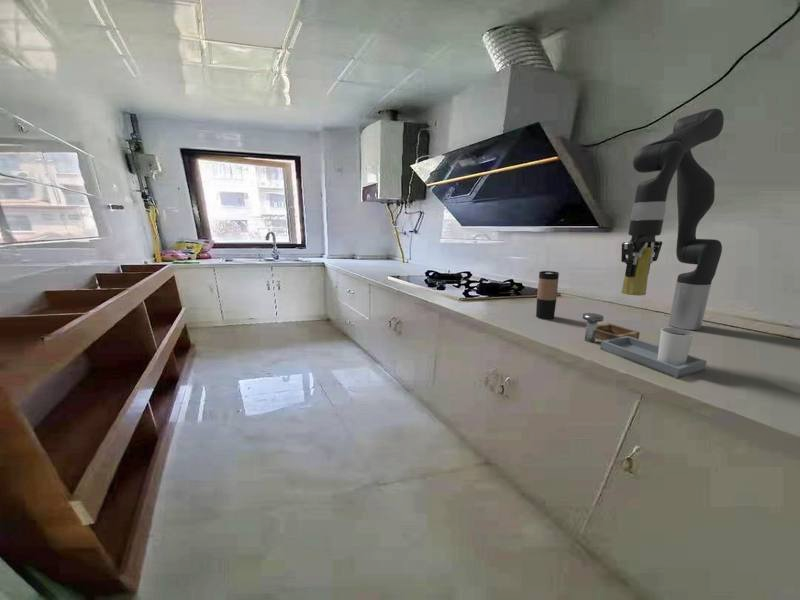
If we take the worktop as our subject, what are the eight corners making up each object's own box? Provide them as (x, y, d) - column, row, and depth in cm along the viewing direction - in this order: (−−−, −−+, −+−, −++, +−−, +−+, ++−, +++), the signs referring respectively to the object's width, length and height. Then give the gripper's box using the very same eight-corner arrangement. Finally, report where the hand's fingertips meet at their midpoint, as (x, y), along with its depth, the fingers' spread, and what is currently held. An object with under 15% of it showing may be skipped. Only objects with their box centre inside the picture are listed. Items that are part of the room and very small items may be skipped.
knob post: (588, 336, 108) (591, 312, 106) (604, 342, 102) (607, 316, 100) (575, 339, 106) (578, 314, 104) (591, 345, 101) (595, 319, 98)
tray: (625, 343, 101) (626, 335, 100) (704, 370, 82) (706, 360, 81) (600, 349, 97) (601, 341, 96) (676, 378, 78) (679, 368, 77)
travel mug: (533, 314, 135) (536, 271, 131) (550, 314, 134) (555, 270, 129) (538, 319, 128) (542, 273, 123) (557, 320, 127) (562, 273, 122)
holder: (607, 330, 113) (608, 323, 112) (638, 340, 103) (639, 332, 102) (586, 334, 110) (587, 327, 109) (616, 345, 100) (617, 337, 99)
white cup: (673, 359, 87) (680, 327, 85) (693, 370, 81) (701, 335, 78) (649, 359, 88) (655, 327, 85) (666, 370, 81) (673, 335, 79)
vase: (650, 296, 88) (659, 247, 85) (626, 295, 90) (635, 247, 86) (639, 291, 94) (647, 246, 91) (617, 291, 95) (624, 246, 92)
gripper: (649, 219, 92) (639, 273, 96) (616, 219, 88) (607, 275, 92) (678, 218, 85) (666, 276, 89) (643, 218, 81) (632, 279, 85)
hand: (636, 275), depth 91 cm, fingers closed on vase, 5 cm apart
